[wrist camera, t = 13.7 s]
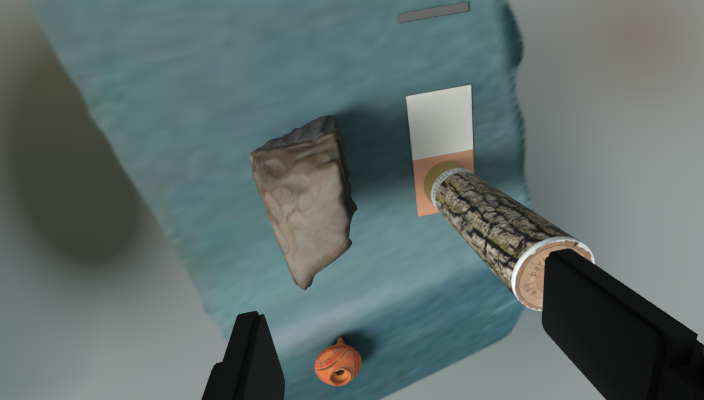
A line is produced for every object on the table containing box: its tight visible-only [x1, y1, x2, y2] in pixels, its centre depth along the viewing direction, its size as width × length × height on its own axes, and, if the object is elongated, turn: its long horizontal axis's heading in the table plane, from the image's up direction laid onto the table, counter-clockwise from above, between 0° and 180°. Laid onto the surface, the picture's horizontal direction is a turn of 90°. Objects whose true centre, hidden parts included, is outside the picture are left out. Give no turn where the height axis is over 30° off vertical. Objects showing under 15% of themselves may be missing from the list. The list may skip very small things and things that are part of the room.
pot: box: [315, 337, 362, 386], centre depth 58 cm, size 8×8×7 cm
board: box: [398, 2, 474, 216], centre depth 48 cm, size 28×9×1 cm, turn 9°
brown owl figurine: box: [249, 116, 357, 290], centre depth 39 cm, size 13×13×20 cm
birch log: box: [423, 162, 595, 311], centre depth 39 cm, size 7×7×25 cm
